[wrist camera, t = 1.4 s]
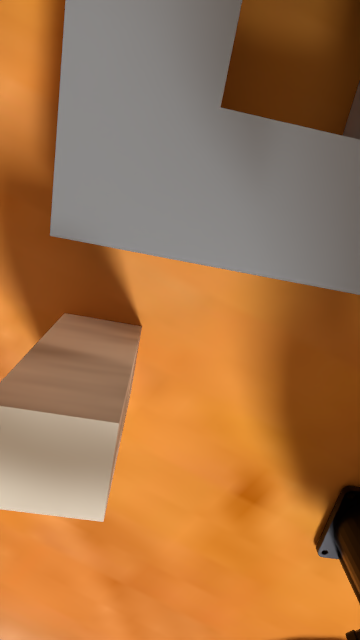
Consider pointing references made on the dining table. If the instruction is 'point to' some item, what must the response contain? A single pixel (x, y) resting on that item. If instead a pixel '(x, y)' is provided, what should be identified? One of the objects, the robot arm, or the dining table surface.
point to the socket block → (194, 151)
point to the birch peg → (66, 418)
